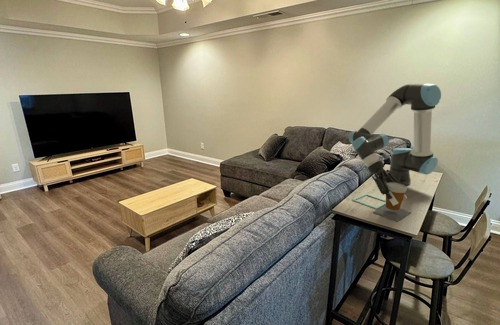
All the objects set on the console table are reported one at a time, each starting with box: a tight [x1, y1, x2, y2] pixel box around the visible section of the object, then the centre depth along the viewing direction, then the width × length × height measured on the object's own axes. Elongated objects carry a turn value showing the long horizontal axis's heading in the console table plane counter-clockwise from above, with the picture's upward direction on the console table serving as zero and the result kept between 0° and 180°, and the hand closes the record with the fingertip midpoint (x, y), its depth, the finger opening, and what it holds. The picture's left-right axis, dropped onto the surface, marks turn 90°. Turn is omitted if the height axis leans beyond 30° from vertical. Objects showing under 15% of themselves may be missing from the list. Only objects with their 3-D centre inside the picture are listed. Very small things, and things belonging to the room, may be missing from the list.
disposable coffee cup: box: [385, 182, 408, 210], centre depth 132 cm, size 10×10×12 cm
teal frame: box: [351, 193, 386, 210], centre depth 148 cm, size 14×14×1 cm
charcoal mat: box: [372, 205, 412, 223], centre depth 134 cm, size 15×12×1 cm
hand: (400, 201), depth 130 cm, fingers closed on disposable coffee cup, 9 cm apart
